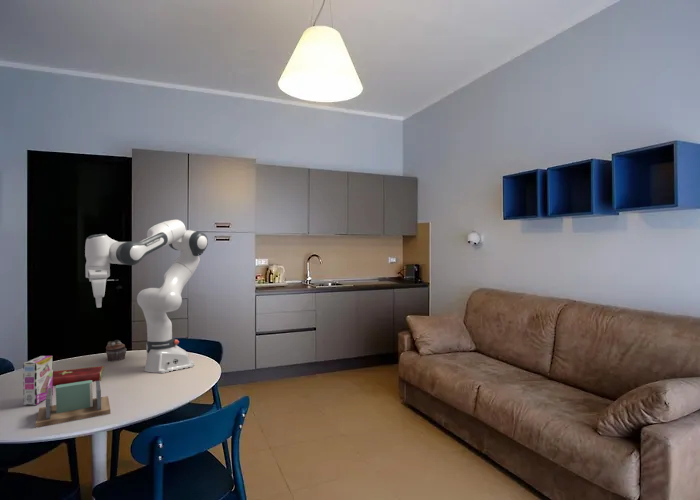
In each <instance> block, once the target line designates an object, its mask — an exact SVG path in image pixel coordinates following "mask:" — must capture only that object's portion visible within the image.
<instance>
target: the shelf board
mask: <svg viewBox="0 0 700 500" xmlns="http://www.w3.org/2000/svg"><path fill="white" fill-rule="evenodd" d="M110 414H111V405H110V400H109V395H105V396H101V410H97V401H96V397H94V398H93V407H89V408H84V409H78V410H72V411H67V412H61V413H56V404H52V412H51V418H50V419H48V420H46V406H41V407H39V408H38V412H37V415H36V420H35V428H36V427H37V428H40V427H48V426H51V425H52V426H53V425H58V424H63V423H68V422H71V421H78V420H83V419H84V420H85V419H89V418H95V417H99V416H104V415H105V416H106V415H110Z"/></svg>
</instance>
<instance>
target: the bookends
mask: <svg viewBox="0 0 700 500" xmlns="http://www.w3.org/2000/svg"><path fill="white" fill-rule="evenodd" d="M95 392H96V394H95V398H96V401H97V410H101V397H102V388H101V381H95ZM52 405H53V395H52V388H48V391H47V395H46V400H45V407H46V420H48V419H50V418H51V412H52Z"/></svg>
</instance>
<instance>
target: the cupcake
mask: <svg viewBox="0 0 700 500" xmlns="http://www.w3.org/2000/svg"><path fill="white" fill-rule="evenodd" d="M105 349H106V350H105V354H106V358H107V360H108V362H115V361H116V362H119V361H123V360H125V359H126V354H127V348H126V345H125V344H124V343H122V342H121V340H119V339H115V340H108V342H107V345H106V347H105Z"/></svg>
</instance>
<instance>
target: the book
mask: <svg viewBox="0 0 700 500" xmlns="http://www.w3.org/2000/svg"><path fill="white" fill-rule="evenodd" d="M93 395H94V394H93V382H92V380H88V381H82V382H75V383H69V384H62V385H56V386H55V405H56V413H61V412H67V411H72V410H78V409H84V408H89V407H93V399H94V398H93V397H94V396H93Z"/></svg>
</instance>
